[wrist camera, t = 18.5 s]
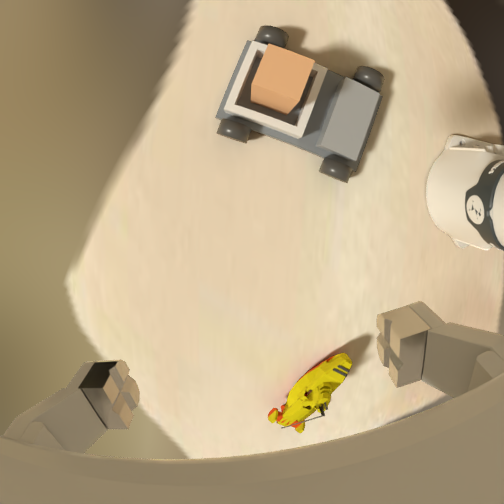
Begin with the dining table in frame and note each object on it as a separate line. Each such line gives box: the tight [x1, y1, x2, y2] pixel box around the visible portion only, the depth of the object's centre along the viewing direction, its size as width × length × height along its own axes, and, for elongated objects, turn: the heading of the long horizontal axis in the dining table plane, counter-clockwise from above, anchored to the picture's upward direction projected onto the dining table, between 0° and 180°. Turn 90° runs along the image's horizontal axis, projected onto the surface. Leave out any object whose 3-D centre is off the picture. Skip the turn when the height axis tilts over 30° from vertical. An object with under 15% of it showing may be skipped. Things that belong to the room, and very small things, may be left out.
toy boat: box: [268, 353, 352, 433], centre depth 46 cm, size 6×18×10 cm, turn 146°
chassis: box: [215, 26, 384, 183], centre depth 36 cm, size 20×16×4 cm
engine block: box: [251, 44, 315, 115], centre depth 32 cm, size 5×5×10 cm
